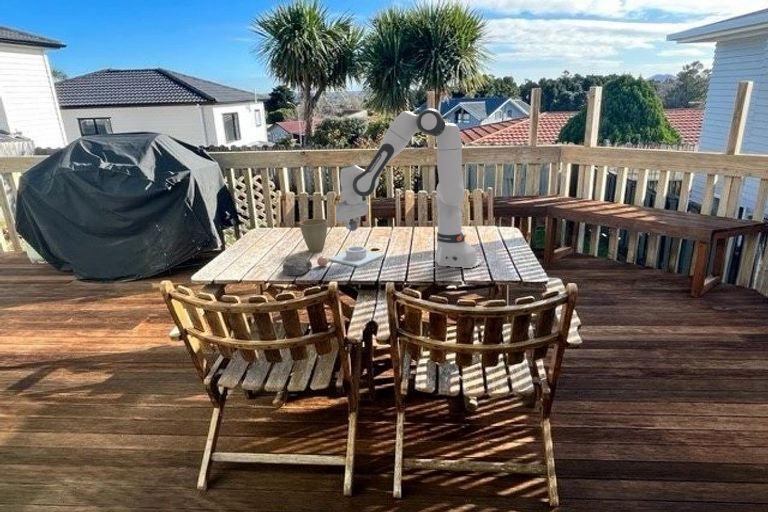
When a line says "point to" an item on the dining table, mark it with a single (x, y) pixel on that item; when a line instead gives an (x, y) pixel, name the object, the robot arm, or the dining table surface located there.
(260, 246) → the dining table surface
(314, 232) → the plant pot
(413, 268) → the dining table surface
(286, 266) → the rock
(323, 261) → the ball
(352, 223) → the steel ball
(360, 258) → the ring plate
